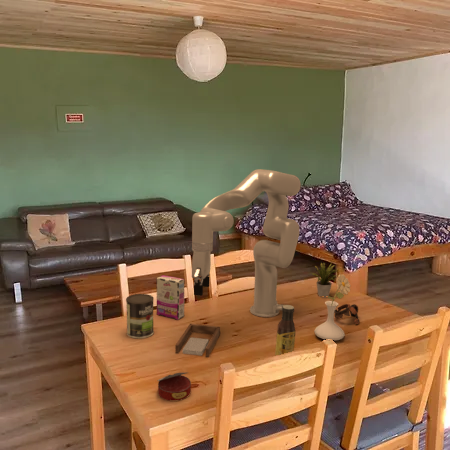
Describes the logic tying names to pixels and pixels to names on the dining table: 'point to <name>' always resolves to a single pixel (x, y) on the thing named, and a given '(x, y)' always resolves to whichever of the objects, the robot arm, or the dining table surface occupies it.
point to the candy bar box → (170, 297)
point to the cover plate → (195, 346)
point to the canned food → (174, 387)
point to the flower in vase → (330, 327)
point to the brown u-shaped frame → (199, 329)
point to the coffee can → (139, 316)
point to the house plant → (325, 280)
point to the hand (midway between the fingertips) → (201, 290)
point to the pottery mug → (347, 312)
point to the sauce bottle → (285, 331)
